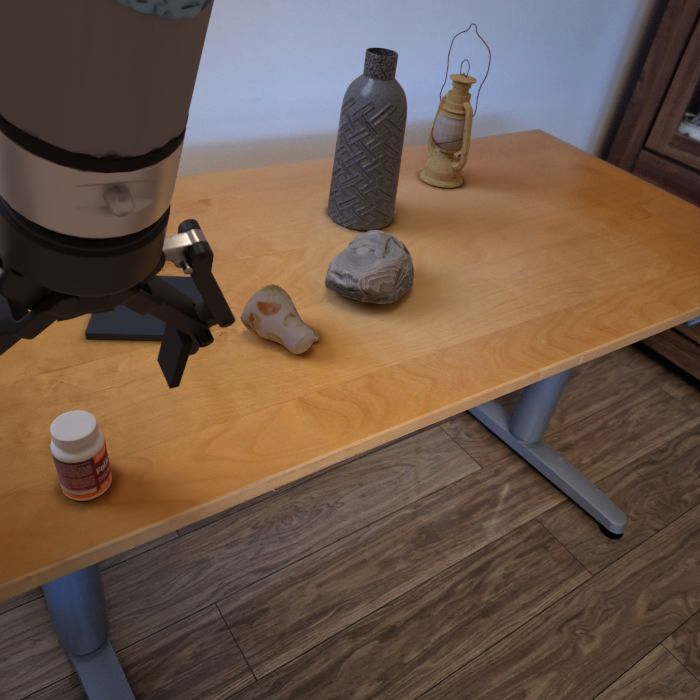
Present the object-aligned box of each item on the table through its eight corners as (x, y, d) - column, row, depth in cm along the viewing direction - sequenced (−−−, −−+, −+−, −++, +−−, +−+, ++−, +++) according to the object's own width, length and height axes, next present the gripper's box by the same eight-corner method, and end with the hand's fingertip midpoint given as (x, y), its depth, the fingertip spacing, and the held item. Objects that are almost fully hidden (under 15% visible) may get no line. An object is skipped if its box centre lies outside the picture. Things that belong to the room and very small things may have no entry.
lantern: (477, 187, 130) (518, 31, 112) (442, 194, 126) (478, 32, 107) (441, 165, 138) (473, 15, 119) (407, 170, 133) (434, 16, 114)
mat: (86, 339, 79) (84, 333, 78) (107, 279, 90) (106, 273, 89) (198, 341, 81) (198, 335, 80) (206, 282, 92) (206, 277, 91)
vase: (314, 215, 112) (328, 47, 94) (350, 195, 120) (370, 37, 103) (370, 239, 108) (396, 68, 90) (404, 216, 116) (434, 55, 98)
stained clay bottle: (296, 373, 79) (261, 308, 74) (256, 361, 86) (222, 302, 81) (336, 338, 82) (304, 274, 77) (294, 330, 90) (263, 271, 85)
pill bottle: (112, 498, 61) (100, 440, 56) (60, 505, 60) (43, 447, 55) (112, 461, 65) (101, 403, 59) (63, 468, 63) (47, 409, 58)
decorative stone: (336, 304, 86) (347, 231, 83) (305, 284, 97) (313, 219, 95) (427, 310, 91) (439, 242, 89) (386, 290, 103) (396, 230, 101)
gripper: (-277, 304, 20) (-125, 510, 36) (348, 213, 33) (252, 393, 50) (-303, 139, 22) (-150, 401, 39) (289, 116, 36) (216, 318, 52)
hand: (76, 397), depth 44 cm, fingers open, 13 cm apart
